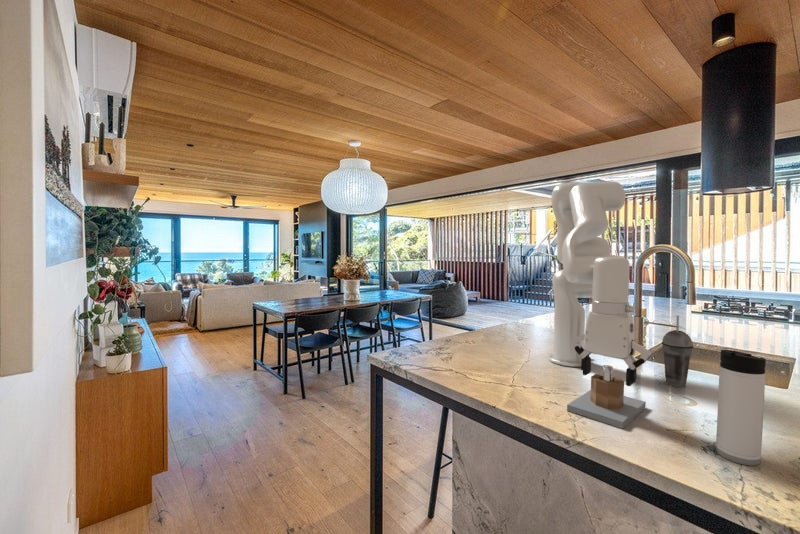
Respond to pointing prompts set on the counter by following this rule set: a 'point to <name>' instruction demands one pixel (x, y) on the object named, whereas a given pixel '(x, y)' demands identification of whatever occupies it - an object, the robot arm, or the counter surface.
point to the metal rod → (607, 373)
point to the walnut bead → (607, 392)
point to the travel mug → (740, 407)
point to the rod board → (607, 410)
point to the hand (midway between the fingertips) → (607, 379)
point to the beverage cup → (677, 356)
